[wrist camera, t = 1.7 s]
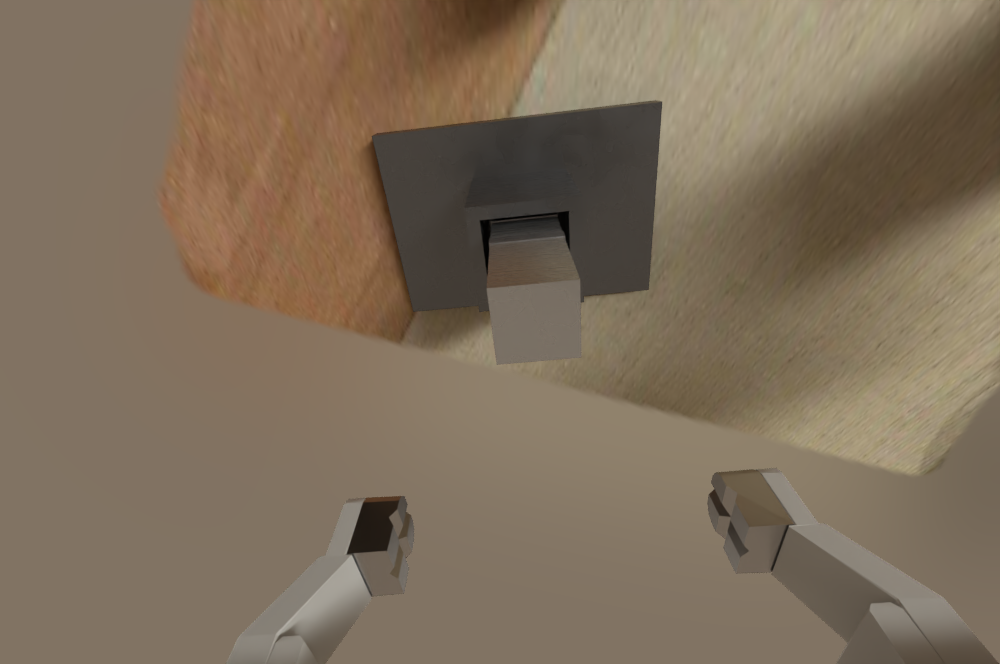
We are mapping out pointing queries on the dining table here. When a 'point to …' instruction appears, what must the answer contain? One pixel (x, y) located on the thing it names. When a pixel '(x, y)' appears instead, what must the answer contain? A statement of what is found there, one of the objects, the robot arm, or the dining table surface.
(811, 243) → the dining table surface
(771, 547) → the robot arm
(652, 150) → the stand
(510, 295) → the column
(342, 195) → the dining table surface
